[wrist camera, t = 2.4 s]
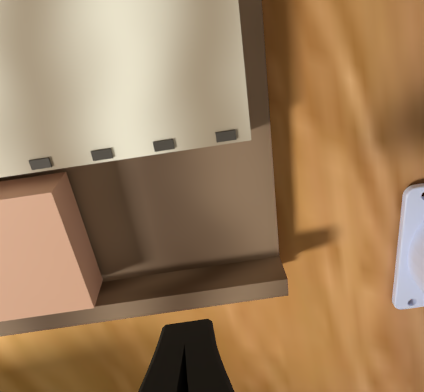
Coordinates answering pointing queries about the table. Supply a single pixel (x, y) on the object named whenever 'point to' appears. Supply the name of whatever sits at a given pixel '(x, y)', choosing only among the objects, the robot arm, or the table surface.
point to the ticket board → (148, 146)
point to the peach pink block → (44, 250)
